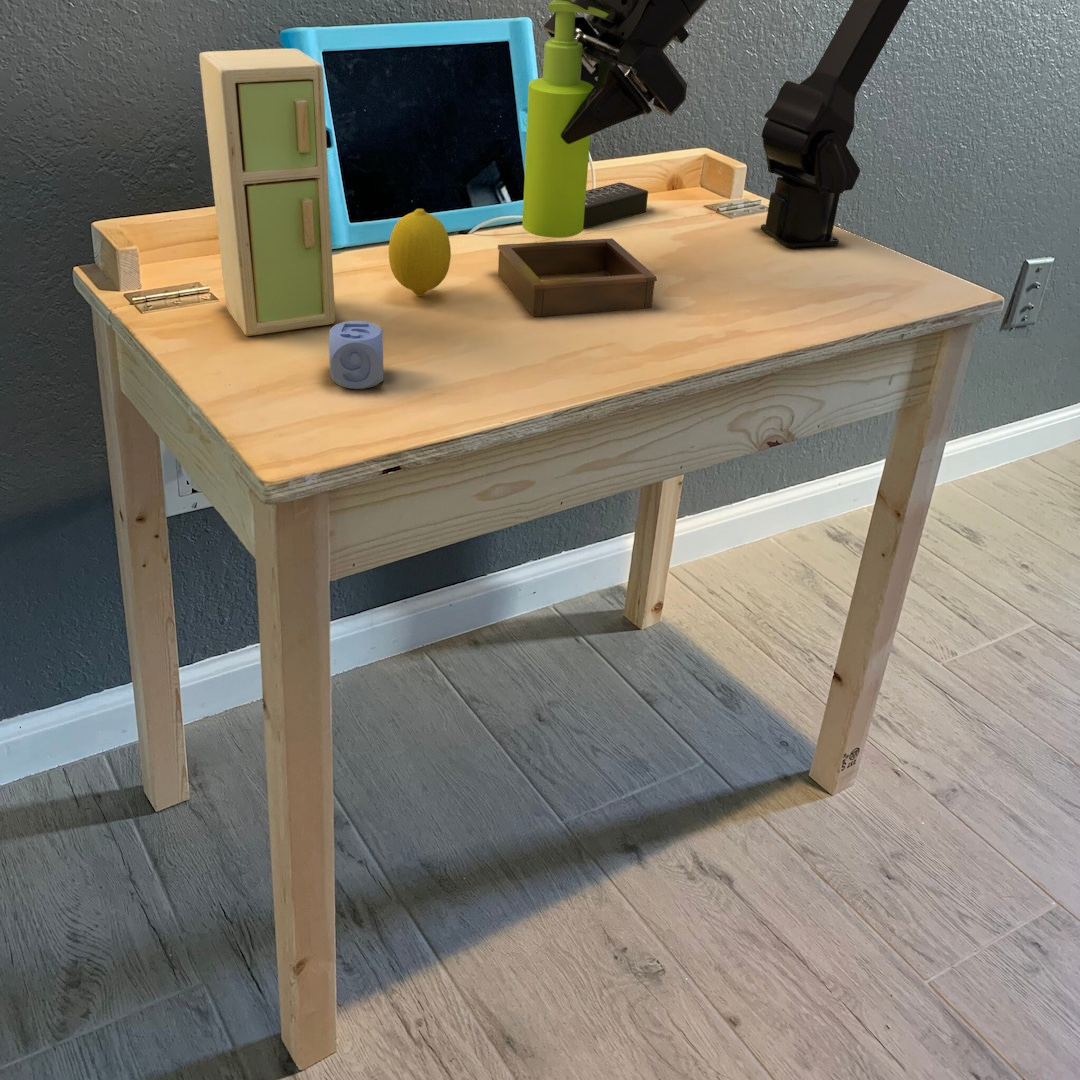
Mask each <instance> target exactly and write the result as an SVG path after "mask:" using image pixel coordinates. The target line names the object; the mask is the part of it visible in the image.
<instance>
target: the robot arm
mask: <svg viewBox="0 0 1080 1080" xmlns="http://www.w3.org/2000/svg"><path fill="white" fill-rule="evenodd" d="M568 1H569V2H572V3H574V4H576V5H578V6H580V7H582V8H583V9H585V10H588V7H597V8H602V9H606V10H610V11H612V12H611V13H610V14H609V15H608V16H607V17H606V18H601V17H598V16H595V15H592V14H588V16H587V17H586V18H585V16H582V15H580V14H578V13H575V27H574V38H575V39H577V40H578V42H580V43H582V45H583V51H582V65H581V80H582V81H585V82H588V83H590V84H591V85H593V87H594V88H593V89H592V90H591V92H590V93H589V95H588V96H587V97H586V99H585V100H584V102H583V103H582V104H581V106H580V107H579V108H578V110H577V111H576V113H575V114H574V115H573V117H572V118H571V120H570V121H569V123H568V124H567V126H566V127H565V129H564V130H563V132H562V133H561V138H562V139H563V140H564V141H565V142H566V143H567V144H571V143H573V142H576V141H578V140H580V139H582V138H585V137H587V136H589V135H590V136H592V135H594V134H597V133H598V132H601V131H603V130H606V129H608V128H611V127H612V126H615V125H617V124H620V123H622V122H625V121H629V120H631V119H633V118H636V117H639V116H641V115H650V114H651V113H652V112H653V110H652V108H651V107H650V105H649V104H650V103H651V101H653V102H652V105H653V107H654V108H655V109H656V110H657V111H659V112H662V113H664V114H665V115H668V116H670V117H671V116H673V115H674V114H675V112H677V110H678V109H679V108H680V107H681V105H682V104H684V102H685V101H686V99H687V90H688V82H686V80H685V78H683V76H682V75H681V73H679V71H678V69H677V68H676V67H675V65H674V64H673V63H672V61H671V60H670V58H669V57H668V56H667V54H666V53H665V52H664V51H665V50H666V49H667V47H669V45H670V44H671V43H672V42H673V41H674V42H677V43H679V44H681V45H682V44H683V43H684V42H686V40H687V39H688V38H689V36H690V34H689V32H688V31H687V29H686V28H685V27H686V26H687V25H688V24H689V22H691V20H693V18H694V17H695V16H696V15H697V13H699V11H700V10H701V9H702V8H703V7H704V6H705V4H707V2H708V1H709V0H568ZM910 1H911V0H852V2H851V4H850V6H849V8H848V10H847V11H846V13H845V15H844V17H843V19H842V20H841V22H840V24H839V26H838V28H837V29H836V31H835V33H834V35H833V36H832V39H831V40H830V42H829V44H828V45H827V47H826V49H825V50H824V53H823V55H822V56H821V58H820V60H819V61H818V64H817V66H816V67H815V69H814V70H813V72H812V73H811V74H810V75H809V76H808V77H806V78H805V79H804V80H803V81H801V82H800V83H797V82H794V81H792V80H791V81H790V80H786V81H784V83H783V84H782V86H781V87H780V89H779V90H778V91H779V92H778V93H777V96H776V98H775V101H774V102H773V104H772V105H771V107H770V108H769V110H767V112H765V114H764V118H766V119H767V120H766V121H765V123H764V126H763V128H762V131H761V139H762V143H763V145H762V146H763V150H764V152H765V158H766V164H767V165H766V167H767V171H768V173H770V174H775V175H777V176H778V177H776V182H775V187H774V192H773V191H772V192H771V193H770V196H769V202H768V208H767V214H766V220H765V224H763V223H762V224H761V225H760V230H761V231H762V232H763V233H765V234H766V235H768V236H769V237H771V238H773V239H774V240H775V241H777V242H779V243H780V244H782V245H783V246H785V247H787V248H805V247H807V248H808V247H823V246H836V245H837V246H838V245H839V244H840V239H839V238H837V237H836V236H834V235H833V230H834V225H835V221H836V217H837V211H838V205H839V202H840V196H841V194H843V193H844V192H846V191H852V190H853V189H854V187H855V184H856V182H857V180H858V177H859V176H860V174H861V168H860V166H859V165H858V163H857V162H856V160H855V158H854V157H853V155H852V153H851V151H850V150H849V148H848V146H847V145H848V142H849V141H850V139H851V136H852V133H853V132H854V128H855V114H856V113H855V111H856V97H857V94H858V92H859V91H860V89H861V87H862V86H863V83H864V82H865V80H866V78H867V77H868V75H869V73H870V72H871V69H872V68H873V66H874V64H875V63H876V62H877V59H878V57H879V55H880V54H881V52H882V50H883V48H884V47H885V45H886V43H887V42H888V40H889V38H890V36H891V34H892V33H893V31H894V29H895V28H896V26H897V24H898V23H899V20H900V19H901V17H902V16H903V13H904V11H905V10H906V8H907V6H908V4H909V3H910ZM555 21H556V12H555V11H554V13H553V14H552V15H551V17H550V18H549V19H548V20H547V21H546V22H545V24H544V25H543V26H542V27H543V30H544V31H545V32H546V34H547V35H548V37H550V39H551V38H553V37H555ZM596 78H597V79H596Z"/></svg>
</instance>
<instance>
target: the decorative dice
mask: <svg viewBox="0 0 1080 1080" xmlns="http://www.w3.org/2000/svg"><path fill="white" fill-rule="evenodd" d="M383 331H384V330H383V329H382V328H381V327H380V326H379V325H377V324H375V323H373V322H369V321H363V320H349V321H342V322H339V323H336V324H334V326H332V327H331V328H330V329H329V335H328V353H329V354H328V357H329V359H328V360H329V376H330V380H331V381H333V383H335V384H336V385H337V386H338V387H342V388H345V389H349V390H364V389H371V388H373V387H376V386H378V385H379V384H381V382H382V381H384V376H385V375H384V332H383Z"/></svg>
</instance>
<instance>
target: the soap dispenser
mask: <svg viewBox="0 0 1080 1080" xmlns="http://www.w3.org/2000/svg"><path fill="white" fill-rule="evenodd" d="M547 7H548V8H547V11H548V12H554V13H555V12H556V21H555V37H553V38H551V37H550V39H549V40H546V41H545V42H544V48H543V49H544V50H543V70H542V77H539V78H535V79H532V80H529V82H528V87H527V89H528V90H527V91H528V92H527V110H526V111H527V114H526V132H525V133H526V135H525V158H524V159H525V160H524V182H523V200H522V201H523V203H522V204H523V205H522V222H521V223H522V228H523V229H524V230H525V231H526V232H528V233H530V234H532V235H535V236H539V237H544V238H551V239H552V238H553V239H563V238H571V237H574V236H575V237H576V236H578V235H579V234H581V233H582V232H583V230H584V228H583V224H584V211H585V198H586V191H587V185H588V184H587V183H588V170H589V158H590V157H589V156H590V144H591V135H589V136H587V137H585V138H582V139H580V140H578V141H576V142H573V143H571V144H567V143H566V142H565V141H564V140H563V139H562V138H561V133H562V132H563V130H564V129H565V127H566V126H567V124H568V123H569V121H570V120H571V118H572V117H573V115H574V114H575V113H576V111H577V110H578V108H579V107H580V106H581V104H582V103H583V102H584V100H585V99H586V97H587V96H588V95H589V93H590V92H591V90H592V89H593V88H594V87H593V85H591V84H590V83H588V82H585V81H582V80H581V65H582V51H583V45H582V43H580V42H578V40H577V39H575V38H574V27H575V14H578V13H580V14H588V15H590V14H592V15H595V16H598V17H601V18H606V17H607V16H608V15H609V14H610V13H611V12H612V11H610V10H606V9H602V8H597V7H588V10H585V9H583V8H582V7H580V6H578V5H576V4H574V3H572V2H569V1H568V0H552V1H550V3H548V6H547Z"/></svg>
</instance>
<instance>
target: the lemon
mask: <svg viewBox="0 0 1080 1080" xmlns="http://www.w3.org/2000/svg"><path fill="white" fill-rule="evenodd" d="M447 231H448V230H447V229H446V228H445V226H444V224H443V222H441V220H439V218H437V217H436V216H434V215H433V214H432V213H431V214H430V213H429V212H426V210H425V209H424V208H415V210H414V211H412V212H410V213H407V214H406V215H404V216H402V217H401V218H399V220H398V221H397V222H396V223H395V225H394V227H393V228H392V231H391V233H390V238H389V243H388V261H389V262H388V263H389V267H390V270H391V272H392V275H393V276H394V279H396V281H397V282H398V283H399V284H400V285H401V286H402V287H404V288H405V289H407V290H410V291H412V292H413V294H415V295H416V296H417V297H423V296H424V295H425V294H426V293H428V291H431V290H433V289H435V288H436V287H438V286H439V285H441V284H442V282H443V281H444V280H445V278H446V277H447V275H448V272H449V269H450V264H451V260H452V259H451V257H452V251H451V249H452V248H451V242H450V238H449V234H448V232H447Z"/></svg>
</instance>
